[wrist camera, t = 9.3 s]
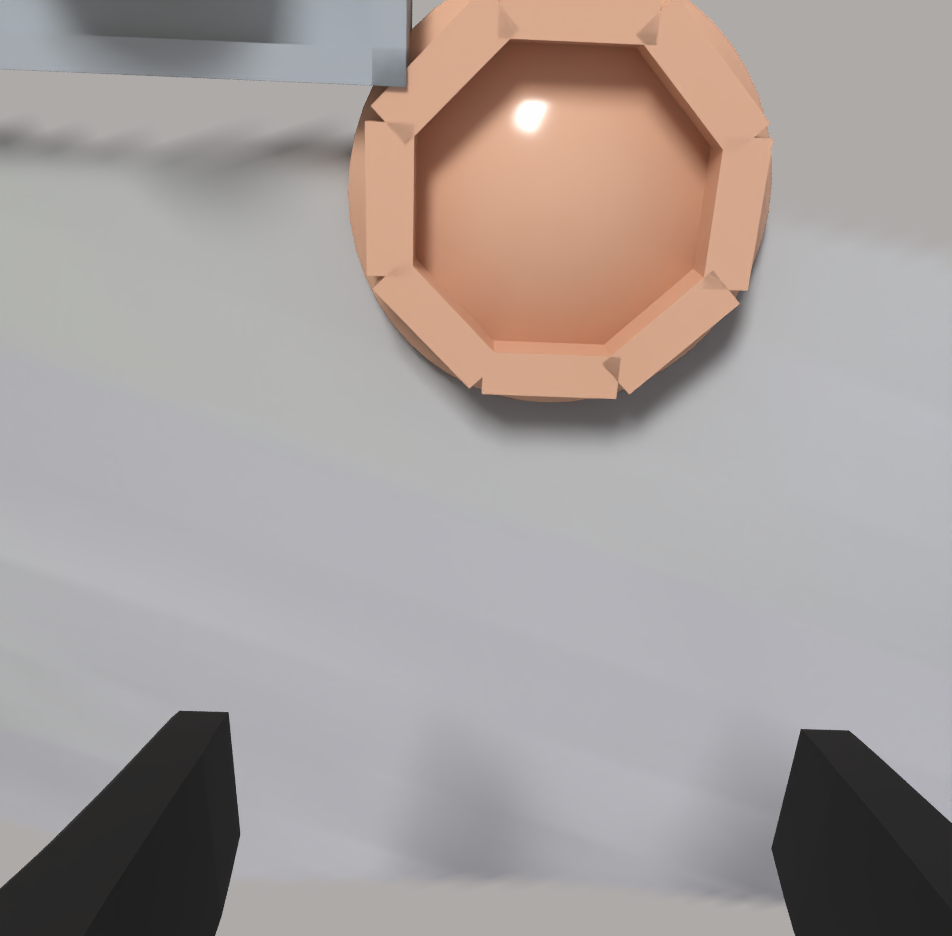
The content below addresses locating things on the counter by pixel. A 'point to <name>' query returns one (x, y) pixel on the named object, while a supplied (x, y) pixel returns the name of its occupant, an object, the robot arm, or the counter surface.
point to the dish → (561, 191)
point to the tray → (212, 39)
